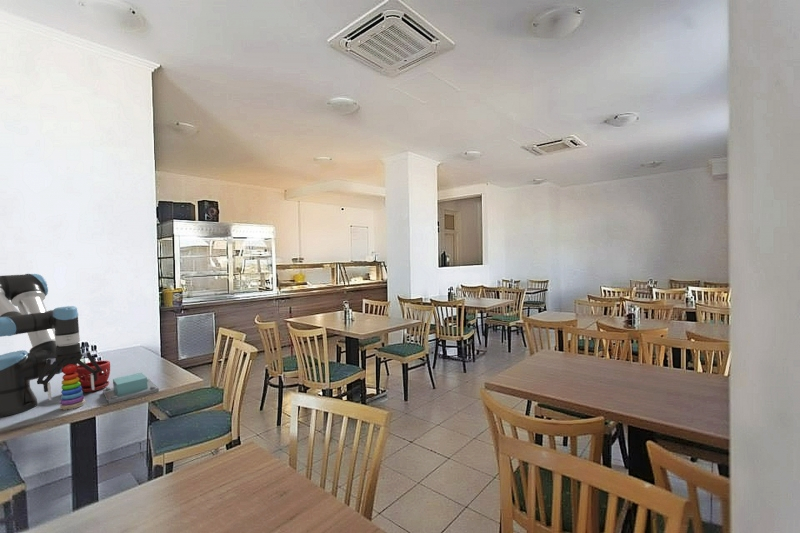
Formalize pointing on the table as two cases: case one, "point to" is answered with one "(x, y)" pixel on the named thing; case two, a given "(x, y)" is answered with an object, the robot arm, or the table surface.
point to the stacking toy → (71, 388)
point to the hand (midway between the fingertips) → (72, 394)
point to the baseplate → (130, 395)
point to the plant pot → (101, 377)
